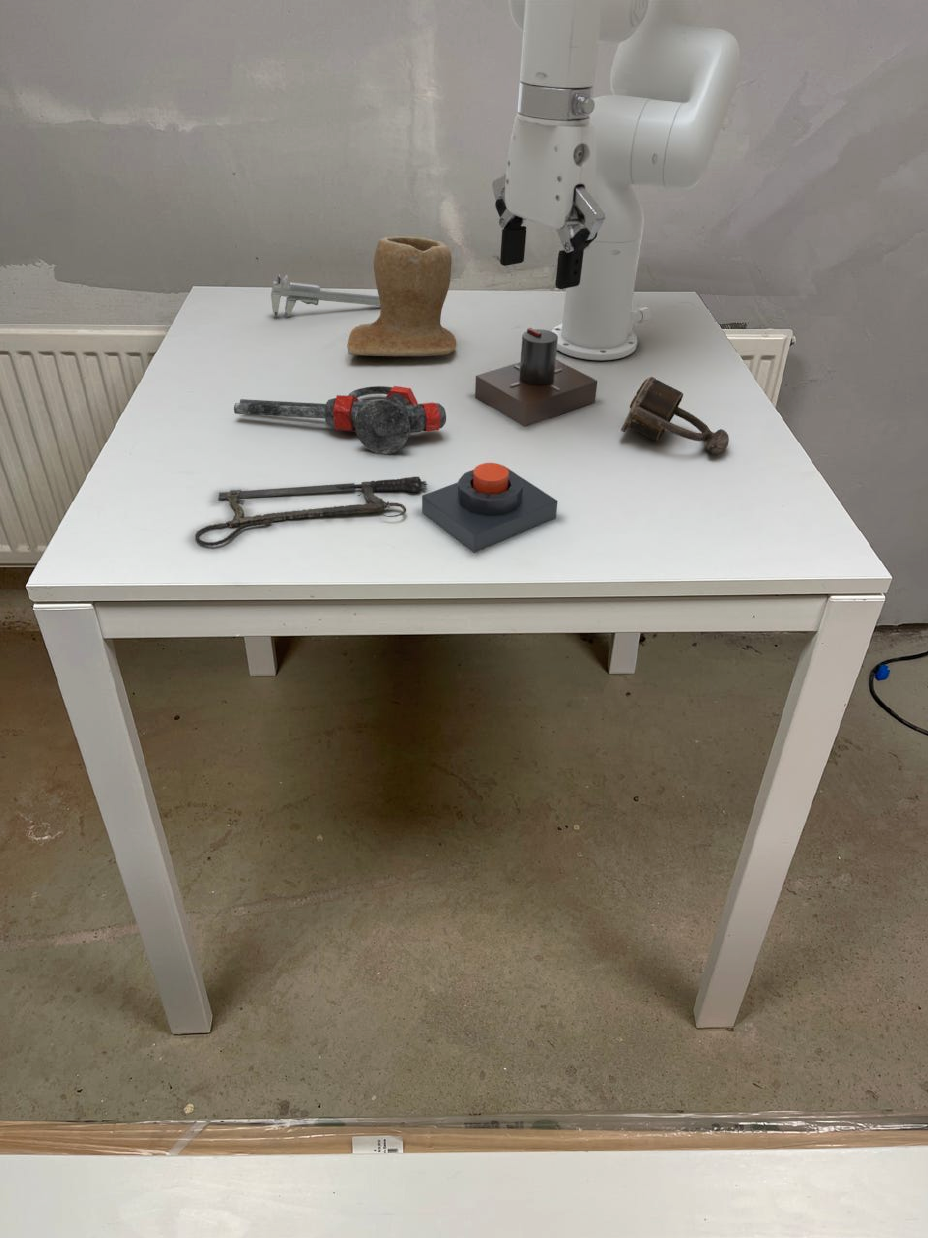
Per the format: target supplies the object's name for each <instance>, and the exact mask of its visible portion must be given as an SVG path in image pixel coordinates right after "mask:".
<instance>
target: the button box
mask: <svg viewBox="0 0 928 1238" xmlns="http://www.w3.org/2000/svg"><path fill="white" fill-rule="evenodd" d="M503 466H504V467H506V466H505V465H503ZM506 468H507V469H508V471H509V477H508V489H507V490H506V491H505V492H502V493H500V494H485V493H481V492H477V491H476V490H475V489H474V488H473V473H474V469H471V470H469V471H465V472H464V473H463V474H462V475H461V477H460V478H459V479H458V481H457V482H455V483H452V484H450V485H447V486H444V487H441V488H439V489H436V490H434V491H431V492H428V493H425V494H422V496H421V513H422V514H423V515H424V516H425V517H426V518H428V519H429V520H430V521H432V522H433V523H434V524H436V525H437V527H438V526H439V528H441V529H442V530H444V531H445V532H446V533H448V534H449V535H450V536H451V537H452V538H454V539H455V540H456V541H458V542H459V543H460V544H461V545H463V546H464V547H466V549H468V550H469V551H470V552H471V553H473V554H476V553H477V552H481V551H482V550H484V549H487V548H489V547H492V546H495V545H496V544H499V543H501V542H503V541H506V540H509V539H511V538H513V537H515V536H518V535H520V534H522V533H525V532H527V531H529V530H532V529H534V528H536V527H539V526H541V525H544V524H545V523H549V522H550V521H552V520H555V519H556V518H557V512H558V511H557V510H558V500H557V499H555V498H554V497H552V496H551V495H549V494H548V493H546V492H545V491H543V490H542V489H540V488H538V487H537V486H535V485H534V484H533V483H531V482H529V480H527V479H525V478H524V477H521V476H520V475H519V474H517V473H516V472H514V471H513V470H511V469H509V468H508V467H506Z"/></svg>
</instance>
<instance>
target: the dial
mask: <svg viewBox="0 0 928 1238" xmlns="http://www.w3.org/2000/svg"><path fill="white" fill-rule="evenodd" d="M551 331H552V330H547V329H539V328H537V329H536V328H535V329H534V328H532V327H528V328H527V329H526V331H524V332H523V333H522V335H521V349H520V361H519V362H520V379H521V380H522V381H523V382H525V383H528V384H532V385H545V384H549V383H551V382H552V381H553V380H554V373H555V362H556V360H557V351H558V350H557V342H558V336H557V335H556V334H555V333H554V332H551Z"/></svg>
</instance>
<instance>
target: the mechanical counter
mask: <svg viewBox="0 0 928 1238" xmlns="http://www.w3.org/2000/svg"><path fill="white" fill-rule="evenodd" d="M683 397H684V392H682V391H680V390H678V389H676V388H674V387H672V386H670V385H668V384H667V383H664V382H662V381H660V380H659V379H657V378H656V377H654V376H650V377H648V378H646V379H645V380H644V381H643V382H642V383H641V385H640V387H639V388H638V389H637V391H636V394H635V395H634V397H633V399H632V400H631V402H630V405H629V412H628V414H627V417H625V420H624V422H623V424H622V426H621V428H620V432H622V433H625V432H627V430H629V429H631V430H634V431H636V432H637V433H639V434H641V435H643V436H645V437H647V438H649V439H650V440H653V441H655V442H659V441H660V439H661V438H662V436H663V434H664V433H665V431H667V432H669V433H670V434H674V435H675V436H679V437H681V438H684V439H687V440H691V441H695V442H703V443H706V444H707V451H708V452H710V454H712V455H716V454H720V453H721V452H723V451H725V450H726V449H727V447H728V446H729V441H730V438H729V434H728V432H727V431H725V429H722V428H720V429H718V430H717V431H715V432H713V431H711V430H710V428H709V426H708V425H707V424H706V423H705V422H703V421H702V420H700V418H698V417H697V416H695V415H694V414H692V413H690V412H688V411H686V410H685V409H683V408H681V407H679V406H680V404H681V402H682V400H683ZM674 416H676V417H678V418H680V419H683V420H684V421H686V422H688V423H689V424H690V425H692V426H693V427H695V428H696V429H697V430H698V431H699V432H696V431H691V430H689V429H686V428H684V427H681V426H680V425H677V424H675V423H672V422H671V421H672V420H673V417H674Z"/></svg>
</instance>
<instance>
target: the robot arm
mask: <svg viewBox="0 0 928 1238" xmlns="http://www.w3.org/2000/svg"><path fill="white" fill-rule="evenodd" d="M508 8H509V9H508V10H509V13H510V17H511V20H512V21H513V23H514V25H515V26H516V28H517V29H518V30H520V31H521V33H522V43H521V44H522V45H521V59H520V72H519V73H520V74H519V86H518V87H519V89H518V103H517V113H516V115H515V118H514V122H513V127H512V131H511V135H510V141H509V142H510V143H509V148H508V155H507V161H506V169H505V171H506V172H505V173H504V174H502V175H501V176H498V177H497V178H495V179H494V180H493V181H492V183H491V185H492V190H493V195H494V199H495V203H494V206H495V209H496V212H497V214H498V216H499V219H498V225H499V228H501V240H500V241H501V242H500V257H499V263H500V265H501V266H504V267H507V266H513V265H519V264H522V263H524V261H525V252H526V240H527V226H525V225H524V223H525V222H526V220H527V221H529V222H532V223H535V224H538V225H540V226H542V227H546V228H550V229H553V230H556V232H557V234H558V236H559V240H560V242H561V246H562V248H563V249H562V250H559V251H558V254H557V255H558V256H557V264H556V274H555V282H554V283H555V284H554V285H555V288H556V289H558V290H565V291H564V292H565V293H564V303H563V311H562V322H561V323H559V324H558V325H556V326H554V327H553V328H552V329H551V330H550V331H551V332H554V333H555V334H556V335H557V336H558V342H557V351H558V352H560V353H562V354H564V355H567V356H569V357H572V358H577V359H583V360H587V361H612V360H618V359H623V358H625V357H628V356H630V355H631V354H633V353H634V352H635V351H636V350H637V347H638V337H637V335H636V334H635V333H634V331H633V328H634V327H635V326H636V325H638V324H641V323H644V322H648V321H649V320H650V319H651V317H652V312H651V310H650V308H649V307H645V306H644V307H641V308H638V309H636V310H633V308H632V306H633V299H634V292H635V285H636V279H637V271H638V266H639V259H640V251H641V245H642V239H643V231H644V223H645V222H644V221H645V220H644V219H645V217H644V210H643V207H642V204H641V201H640V199H639V196H638V194H637V192H636V190H635V188H634V186H637V185H638V186H645V187H652V188H659V189H665V190H666V189H667V190H674V191H686V190H690V189H692V188H694V187H696V185H697V184H698V183H700V181H701V180H702V179H703V177H704V174H705V173H706V171H707V168H708V166H709V164H710V161H711V159H712V155H713V153H714V149H715V147H716V144H717V141H718V139H719V136H720V133H721V130H722V127H723V125H724V122H725V119H726V116H727V113H728V111H729V109H730V105H731V103H732V99H733V97H734V93H735V90H736V86H737V83H738V78H739V72H740V67H741V66H740V65H741V50H740V46H739V43H738V41H737V39H736V37H735V36H734V35H733V34H732V33H731V32H729V31H727V30H726V29H721V28H718V27H709V26H698V25H697V24H698V22H699V19H700V16H701V12H702V0H508ZM599 44H607V45H608V44H610V45H612V44H618V46H617V49H616V51H615V55H614V58H613V61H612V64H611V67H610V73H609V87H610V91H611V93H612V94H607V95H599V96H596V97H594V98H593V94H594V86H595V85H594V83H595V75H596V66H597V57H598V49H599ZM633 185H634V186H633ZM570 230H571V231H570Z"/></svg>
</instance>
